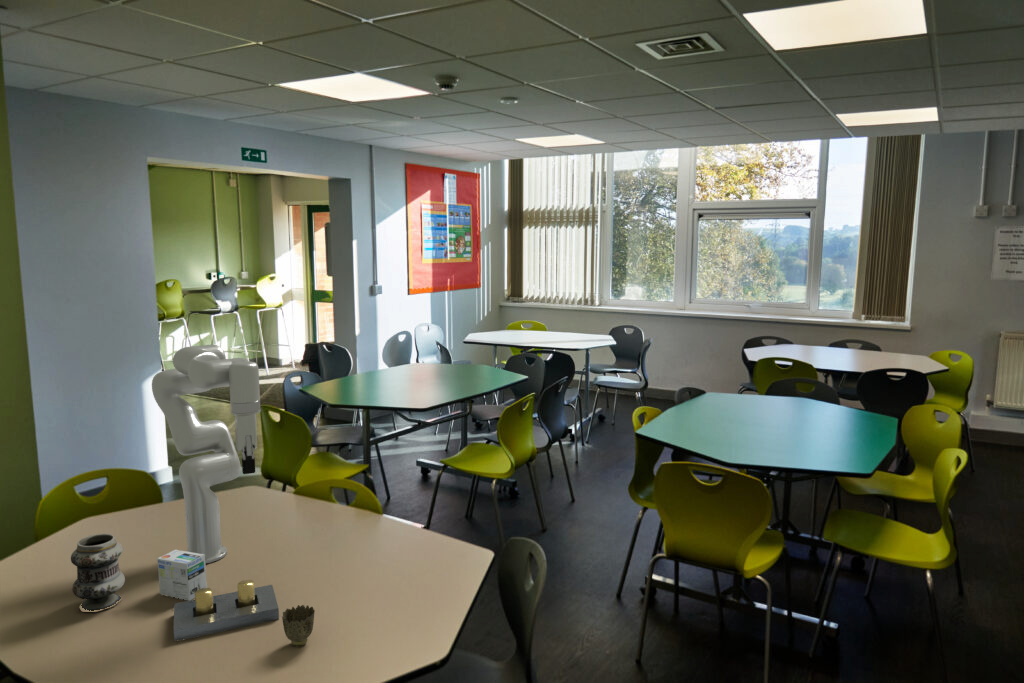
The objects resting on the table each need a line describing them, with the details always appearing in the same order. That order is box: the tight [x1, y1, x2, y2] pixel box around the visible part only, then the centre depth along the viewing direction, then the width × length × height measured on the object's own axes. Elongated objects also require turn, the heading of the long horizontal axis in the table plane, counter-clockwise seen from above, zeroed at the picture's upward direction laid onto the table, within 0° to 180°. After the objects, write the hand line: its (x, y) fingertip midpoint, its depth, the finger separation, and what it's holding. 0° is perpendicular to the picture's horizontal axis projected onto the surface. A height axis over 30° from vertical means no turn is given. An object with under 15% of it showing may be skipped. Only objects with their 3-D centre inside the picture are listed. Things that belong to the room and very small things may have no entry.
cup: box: [281, 604, 316, 648], centre depth 162 cm, size 8×7×8 cm
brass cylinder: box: [237, 579, 255, 608], centre depth 177 cm, size 4×4×8 cm
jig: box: [173, 584, 280, 642], centre depth 175 cm, size 14×24×3 cm, turn 116°
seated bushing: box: [194, 587, 214, 617], centre depth 172 cm, size 4×4×8 cm
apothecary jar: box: [70, 533, 126, 611], centre depth 181 cm, size 12×12×18 cm
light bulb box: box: [156, 549, 208, 601], centre depth 187 cm, size 11×7×11 cm, turn 71°
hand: (248, 472), depth 187 cm, fingers closed
